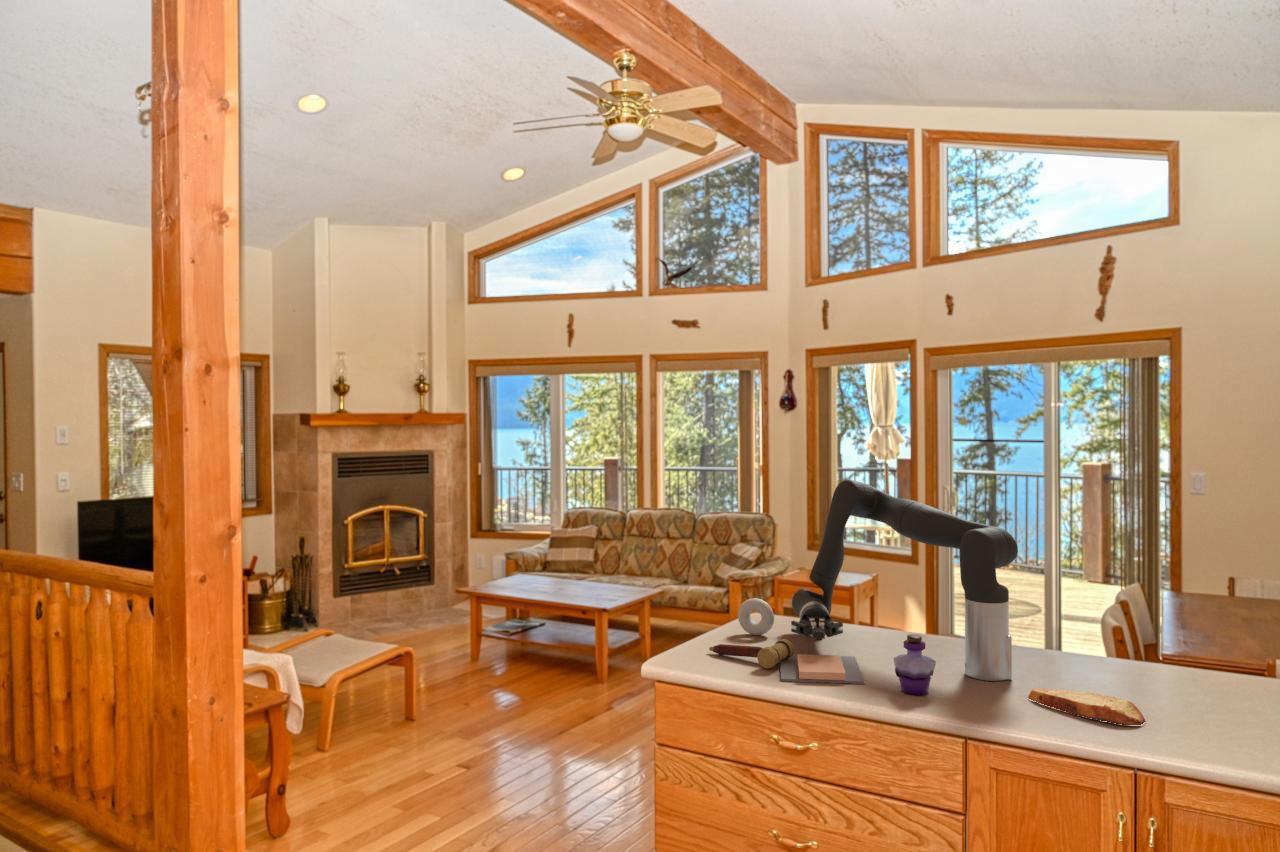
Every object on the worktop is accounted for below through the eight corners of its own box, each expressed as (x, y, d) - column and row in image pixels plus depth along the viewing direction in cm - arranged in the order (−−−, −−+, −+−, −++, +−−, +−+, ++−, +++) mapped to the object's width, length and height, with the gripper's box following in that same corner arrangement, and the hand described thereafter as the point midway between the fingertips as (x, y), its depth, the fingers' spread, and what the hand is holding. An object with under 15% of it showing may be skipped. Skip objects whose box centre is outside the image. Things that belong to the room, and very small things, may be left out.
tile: (840, 655, 203) (845, 673, 189) (840, 662, 203) (845, 681, 189) (797, 654, 204) (799, 671, 190) (797, 661, 204) (799, 679, 190)
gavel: (697, 644, 210) (719, 635, 218) (699, 662, 210) (720, 653, 218) (773, 649, 198) (793, 639, 206) (775, 669, 198) (795, 658, 205)
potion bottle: (894, 684, 188) (893, 629, 188) (935, 687, 186) (935, 632, 186) (892, 696, 180) (892, 639, 180) (936, 700, 177) (936, 642, 177)
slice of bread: (1022, 696, 181) (1022, 678, 181) (1112, 699, 179) (1112, 681, 179) (1053, 727, 163) (1053, 707, 163) (1154, 730, 161) (1154, 710, 161)
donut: (736, 634, 232) (736, 597, 232) (740, 631, 235) (740, 595, 235) (772, 638, 228) (772, 600, 228) (775, 635, 231) (775, 598, 231)
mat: (855, 658, 208) (855, 656, 208) (864, 684, 188) (864, 681, 188) (779, 656, 211) (779, 653, 211) (780, 681, 191) (780, 678, 191)
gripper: (788, 603, 218) (790, 619, 201) (841, 604, 217) (848, 620, 199) (788, 632, 219) (790, 651, 201) (841, 634, 217) (848, 653, 199)
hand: (819, 636), depth 200 cm, fingers closed
